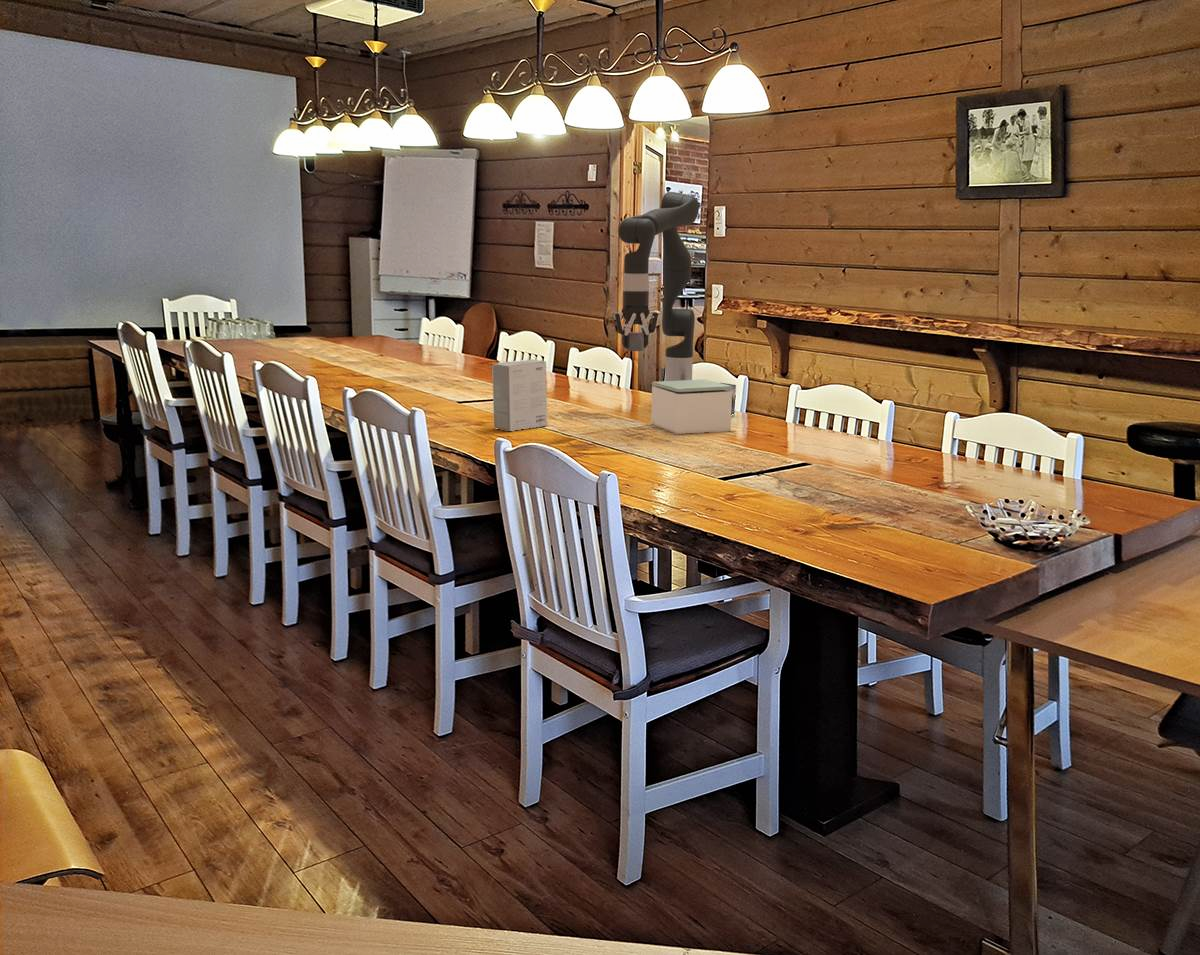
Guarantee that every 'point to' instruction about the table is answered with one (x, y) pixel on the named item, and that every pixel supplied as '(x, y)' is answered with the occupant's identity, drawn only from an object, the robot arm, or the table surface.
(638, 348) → the dark grey cylinder
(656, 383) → the lid
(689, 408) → the storage box
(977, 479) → the table surface
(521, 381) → the hard drive box
